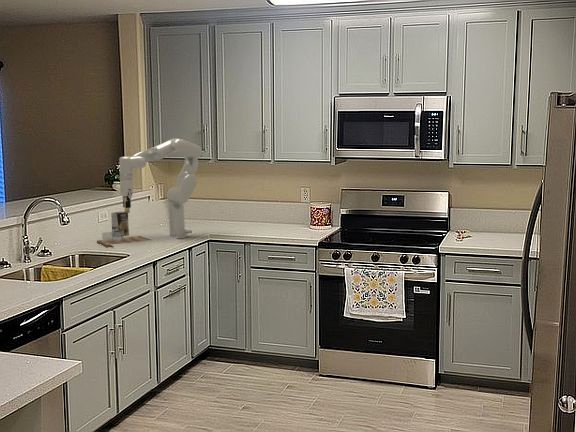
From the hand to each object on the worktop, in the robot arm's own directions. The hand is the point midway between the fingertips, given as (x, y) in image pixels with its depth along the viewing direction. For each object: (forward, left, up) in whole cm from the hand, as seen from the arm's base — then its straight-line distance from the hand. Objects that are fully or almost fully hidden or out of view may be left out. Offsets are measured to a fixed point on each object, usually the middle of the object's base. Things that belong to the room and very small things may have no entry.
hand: (126, 207), depth 441 cm
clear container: (+9, -5, -20) cm, 23 cm away
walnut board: (+2, -3, -22) cm, 22 cm away
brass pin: (0, 0, -3) cm, 3 cm away
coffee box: (-3, -23, -22) cm, 32 cm away
